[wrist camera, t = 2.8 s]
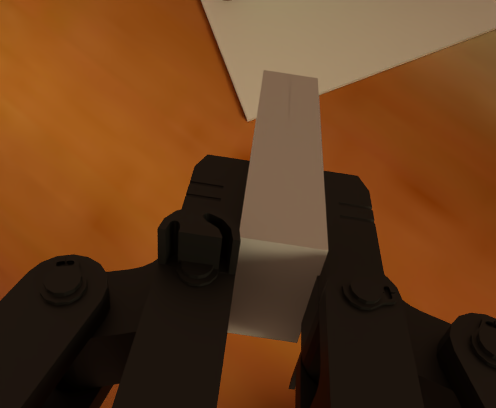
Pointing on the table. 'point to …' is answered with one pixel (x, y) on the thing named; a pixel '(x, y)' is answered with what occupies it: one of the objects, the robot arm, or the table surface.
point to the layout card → (335, 37)
